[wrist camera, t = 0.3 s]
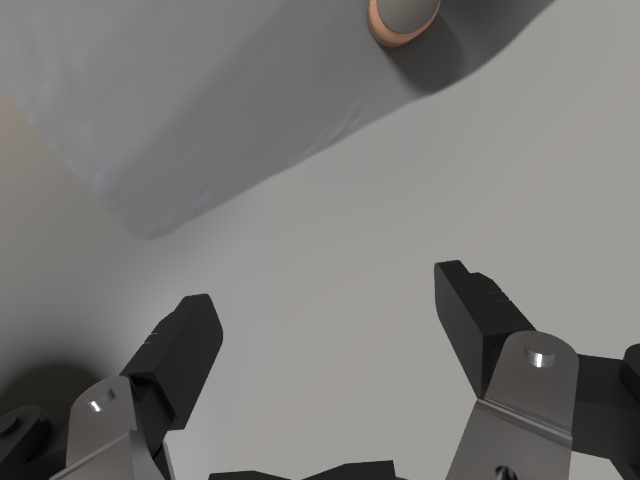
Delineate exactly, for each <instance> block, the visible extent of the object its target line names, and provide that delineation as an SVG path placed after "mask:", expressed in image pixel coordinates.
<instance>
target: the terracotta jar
mask: <svg viewBox="0 0 640 480" xmlns="http://www.w3.org/2000/svg"><path fill="white" fill-rule="evenodd" d="M440 2H441V0H370V1H369V4H368V7H367V25H368V29H369V31H370V33H371V35H372V37H373V38H374V39H375V40H376V41H377V42H378V43H379V44H381V45H383V46H386V47H400V46H402V45H405V44H406V43H408V42H409V41H411V40H412V39H413V38H415V37H416V36H417V35H419V34H420V33H421V32H422V31H424V30H425V29H426V28H427V27H428V26H429V25H430V24H431V22H432V21H433V19H434V18H435V16H436V14H437V12H438V9H439V6H440Z"/></svg>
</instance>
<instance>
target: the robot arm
mask: <svg viewBox="0 0 640 480" xmlns="http://www.w3.org/2000/svg"><path fill="white" fill-rule="evenodd" d="M434 275H435V277H434V279H435V303H436V309H437V313H438V317H439V319H440V322H441V324H442V326H443V328H444V330H445V332H446V334H447V336H448V338H449V340H450V342H451V344H452V347H453V349H454V351H455V353H456V355H457V357H458V359H459V361H460V363H461V365H462V367H463V369H464V371H465V374H466V376H467V378H468V380H469V382H470V384H471V386H472V388H473V390H474V392H475V394H476V396H477V401H476V403H475V405H474V408H473V410H472V413H471V415H470V418H469V420H468V423H467V426H466V428H465V431H464V433H463V436H462V438H461V441H460V444H459V446H458V449H457V451H456V454H455V456H454V459H453V462H452V464H451V467H450V469H449V472H448V474H447V477H446V479H445V480H568V478H569V468H570V459H571V451H575V452H580V453H584V454H588V455H593V456H597V457H602V458H606V459H610V461H611V462H612V464H613V465H614V466H615V468H616V469H617V471H618V472H619V474H620V475H621V476H622V478H623V479H624V480H640V344H635V345H633V346H630V347H629V348H628V349H627V350H626V352H625V355H624V358H623V360H619V359H611V358H603V357H595V356H586V355H581V354H577V353H576V352H575V351H574V349H573V348H572V347H571V346H570V345H568V344H567V343H565V342H564V341H563V340H561V339H559V338H557V337H555V336H553V335H550V334H547V333H543V332H539V331H537V330H536V329H535V328H534V327H533V325H532V324H531V323H530V322H529V321H528V320H527V319H526V317H525V316H524V315H523V314H522V313H521V312H520V311H519V309H518V308H517V307H516V306H515V305H514V304H513V303H512V301H509V298H508V297H507V296H506V295H505V294H504V293H503V292H502V290H501V289H500V288H499V287H498V285H497V284H496V283H495V282H494V281H493V280H492V279H490V278H488V277H486V276H484V275H483V274H481V273H479V272H477V273H469V272H468V271H467V269H466V268H465V266H464V265H463V264H462V263H461V261H459V260H454V261H446V262H438V263H435V266H434ZM222 342H223V330H222V326H221V323H220V321H219V318H218V316H217V313H216V310H215V308H214V306H213V303H212V300H211V298H210V296H209V295H208V294H199V295H192V296H186V297H184V298H183V299H182V301H181V302H180V303H179V305H178V306H177V307H176V309H175V310H174V312H171V313H170V314H169V315H168V316H166V317H165V318H164V319H163V320H161V321H160V322H159V323H158V325H157V326H156V327H155V329H154V330H153V331H152V333H151V335H149V337H148V338H147V339H146V340H145V342H144V344H143V345H142V346H141V347H140V348H139V350H138V351H137V352H136V354H135V355H134V356H133V357H132V359H131V360H130V361H129V363H128V364H127V365H126V367H125V368H124V369H123V371H122V372H121V373H120V374H119V376H114V377H110V378H108V379H105V380H103V381H100V382H99V383H97V384H95V385H94V386H92V387H91V388H89V389H88V390H87V391H86V392H84V393H83V394H82V395H81V396H80V397H79V398H78V399H77V400H76V402H75V403H74V405H73V406H72V408H71V409H68V410H65V411H63V412H60V413H57V414H54V415H52V416H48V417H46V416H45V414H44V413H43V412H42V411H41V409H40V408H39V407H38V406H36V405H28V406H24V407H21V408H18V409H16V410H13V411H11V412H9V413H7V414H6V415H4V416H2V417H1V418H0V480H176V479H175V475H174V471H173V467H172V463H171V459H170V455H169V451H168V447H167V444H166V442H165V441H164V437H165V435H166V433H167V431H170V430H182V429H185V426H186V424H187V422H188V420H189V417H190V415H191V413H192V411H193V408H194V406H195V404H196V402H197V399H198V397H199V395H200V393H201V390H202V388H203V386H204V384H205V381H206V379H207V377H208V374H209V372H210V370H211V368H212V365H213V363H214V361H215V359H216V356H217V354H218V352H219V350H220V347H221V345H222ZM208 480H290V479H286V478H282V477H278V476H273V475H269V474H265V473H261V472H257V471H239V472H226V473H212V474H210V475H209V479H208ZM303 480H407V479H404V478H399V477H396V476H395V470H394V464H393V460H389V461H376V462H362V463H348V464H344V465H341V466H338V467H335V468H333V469H330V470H327V471H324V472H322V473H319V474H316V475H313V476H311V477H308V478H305V479H303Z"/></svg>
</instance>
